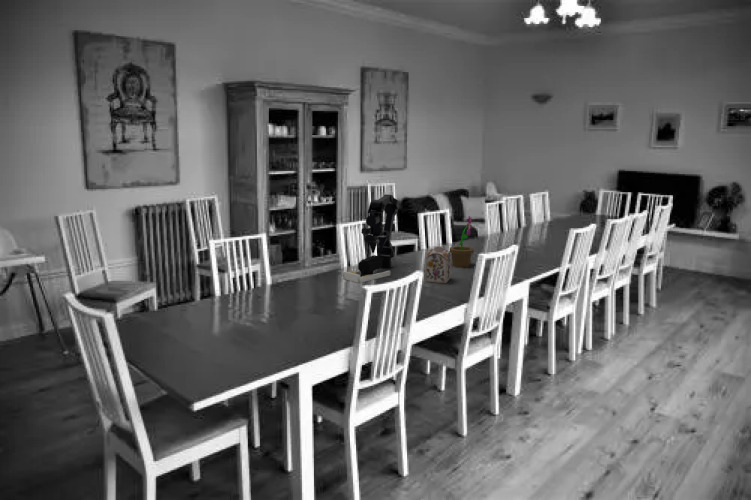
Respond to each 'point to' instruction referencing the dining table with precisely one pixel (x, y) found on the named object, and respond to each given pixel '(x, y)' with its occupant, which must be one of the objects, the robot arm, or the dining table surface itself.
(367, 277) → the tester cradle
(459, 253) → the flowerpot
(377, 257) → the security camera
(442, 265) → the decorative jar
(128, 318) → the dining table surface
